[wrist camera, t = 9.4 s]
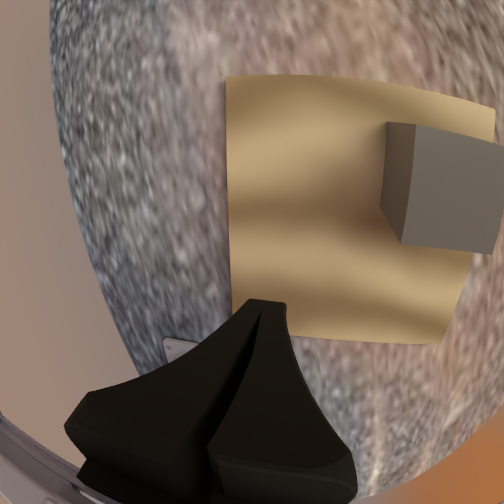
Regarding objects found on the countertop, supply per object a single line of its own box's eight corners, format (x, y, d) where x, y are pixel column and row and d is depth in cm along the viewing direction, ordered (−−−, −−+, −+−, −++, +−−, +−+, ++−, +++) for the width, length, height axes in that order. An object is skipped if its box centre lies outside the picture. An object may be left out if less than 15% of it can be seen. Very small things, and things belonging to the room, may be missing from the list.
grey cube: (452, 216, 16) (491, 254, 11) (379, 206, 17) (400, 244, 12) (464, 136, 14) (512, 149, 9) (387, 121, 15) (416, 124, 10)
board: (437, 337, 21) (440, 344, 20) (235, 321, 24) (233, 327, 23) (489, 109, 13) (495, 109, 12) (229, 77, 16) (225, 76, 16)
